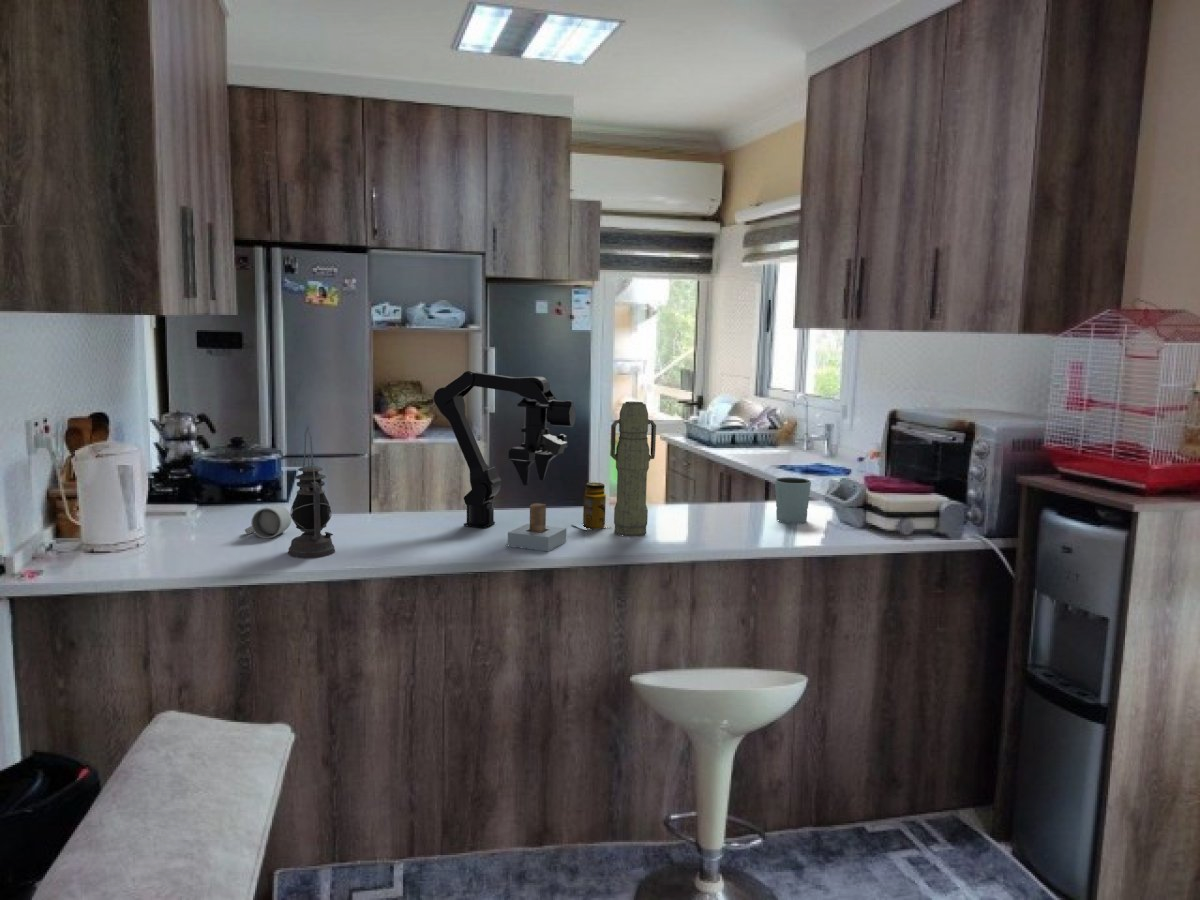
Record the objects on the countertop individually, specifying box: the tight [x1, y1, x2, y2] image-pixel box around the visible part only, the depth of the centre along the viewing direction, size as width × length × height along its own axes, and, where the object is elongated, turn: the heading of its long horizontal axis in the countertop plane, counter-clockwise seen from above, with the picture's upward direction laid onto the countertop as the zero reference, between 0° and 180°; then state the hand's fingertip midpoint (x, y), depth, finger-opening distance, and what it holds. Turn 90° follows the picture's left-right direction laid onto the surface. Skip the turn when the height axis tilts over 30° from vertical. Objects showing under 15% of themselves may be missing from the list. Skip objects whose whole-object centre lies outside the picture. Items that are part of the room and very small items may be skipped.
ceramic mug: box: [244, 504, 292, 539], centre depth 221 cm, size 11×8×8 cm
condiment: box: [582, 482, 611, 531], centre depth 238 cm, size 7×8×12 cm
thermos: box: [609, 401, 657, 537], centre depth 231 cm, size 9×12×35 cm
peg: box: [529, 502, 547, 533], centre depth 218 cm, size 3×3×10 cm
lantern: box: [287, 425, 336, 559], centre depth 203 cm, size 12×11×30 cm
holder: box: [507, 523, 567, 552], centre depth 218 cm, size 11×11×4 cm
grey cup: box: [774, 476, 812, 525], centre depth 252 cm, size 10×10×12 cm
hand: (533, 482), depth 232 cm, fingers open, 9 cm apart
